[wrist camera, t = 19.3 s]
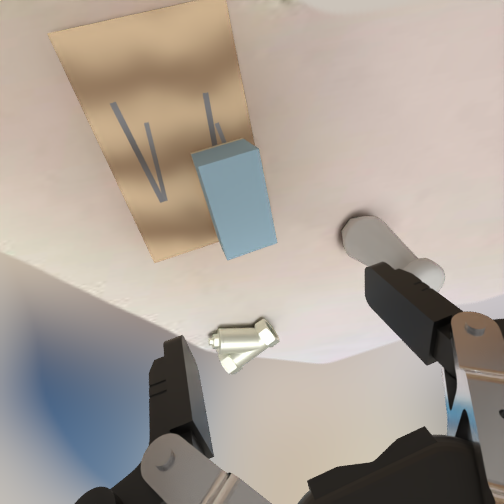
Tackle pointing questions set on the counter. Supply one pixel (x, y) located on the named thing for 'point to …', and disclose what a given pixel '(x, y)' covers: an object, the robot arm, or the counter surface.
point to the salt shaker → (387, 250)
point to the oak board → (160, 110)
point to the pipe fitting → (242, 344)
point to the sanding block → (236, 196)
